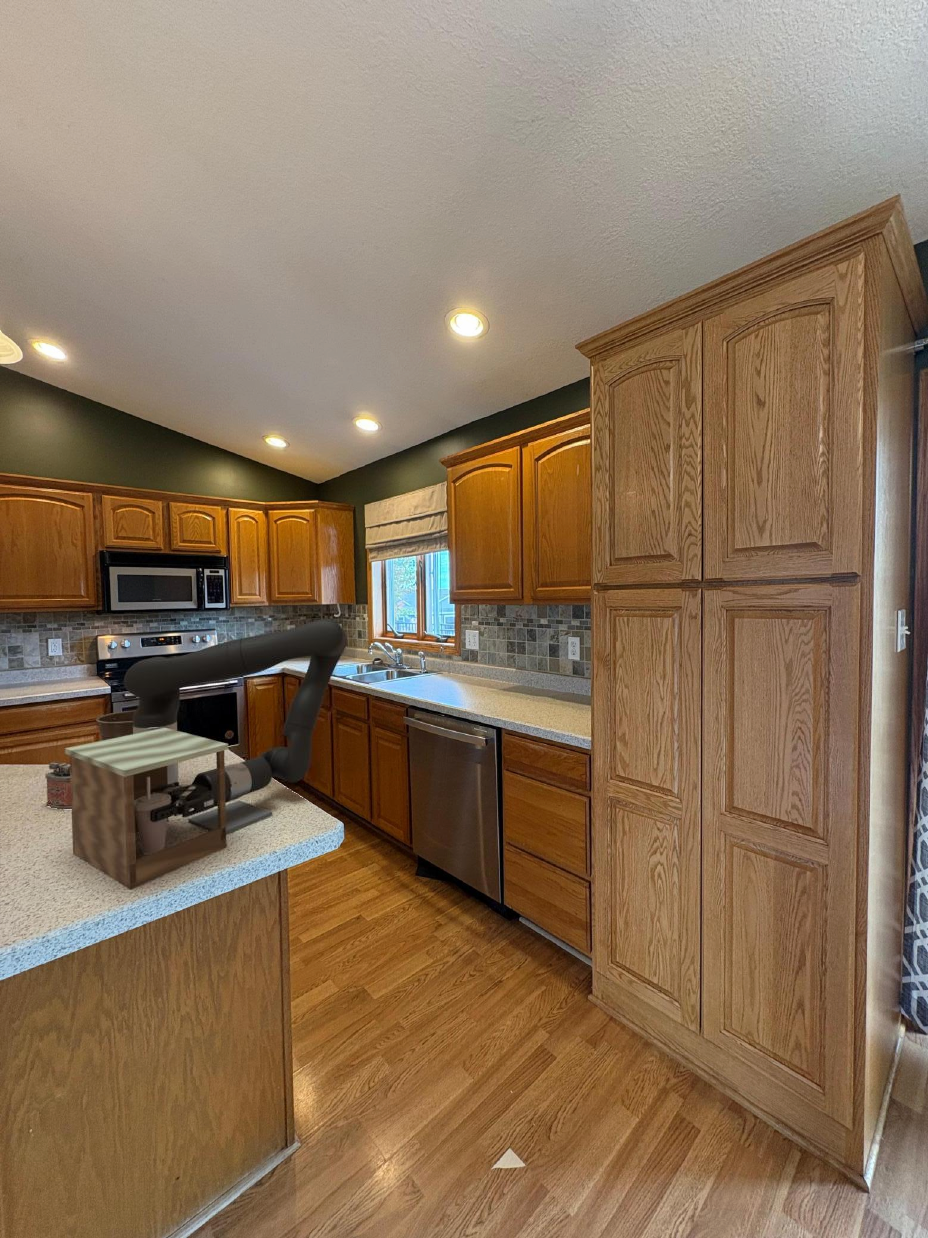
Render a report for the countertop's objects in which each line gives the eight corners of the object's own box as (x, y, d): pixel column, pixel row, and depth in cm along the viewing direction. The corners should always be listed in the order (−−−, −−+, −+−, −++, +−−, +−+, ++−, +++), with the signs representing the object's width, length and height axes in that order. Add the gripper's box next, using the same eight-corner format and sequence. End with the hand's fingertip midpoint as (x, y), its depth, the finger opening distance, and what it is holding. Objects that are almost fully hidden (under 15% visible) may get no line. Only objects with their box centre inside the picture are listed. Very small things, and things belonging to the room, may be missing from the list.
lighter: (82, 806, 119) (80, 763, 119) (66, 811, 116) (65, 767, 115) (58, 801, 122) (56, 759, 121) (42, 807, 118) (40, 764, 118)
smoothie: (144, 842, 101) (142, 771, 101) (178, 841, 102) (176, 770, 101) (126, 858, 95) (123, 783, 94) (162, 857, 95) (160, 782, 95)
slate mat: (188, 822, 110) (188, 819, 110) (239, 803, 120) (239, 800, 120) (221, 836, 103) (220, 833, 103) (272, 815, 113) (272, 812, 113)
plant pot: (145, 761, 152) (144, 706, 151) (181, 769, 145) (180, 712, 144) (84, 778, 137) (83, 718, 136) (121, 788, 130) (119, 724, 129)
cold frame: (68, 854, 97) (65, 748, 96) (167, 819, 112) (165, 727, 111) (128, 892, 84) (124, 770, 83) (230, 847, 99) (228, 744, 98)
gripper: (203, 761, 114) (121, 784, 100) (242, 773, 106) (159, 800, 92) (204, 795, 114) (122, 822, 100) (243, 809, 106) (160, 841, 92)
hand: (140, 811), depth 96 cm, fingers open, 7 cm apart
